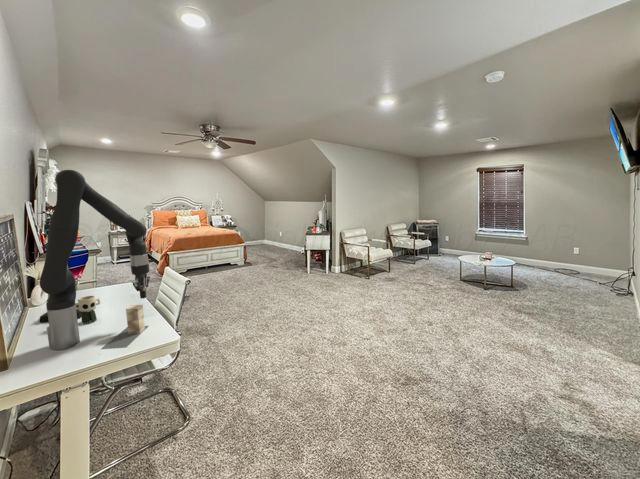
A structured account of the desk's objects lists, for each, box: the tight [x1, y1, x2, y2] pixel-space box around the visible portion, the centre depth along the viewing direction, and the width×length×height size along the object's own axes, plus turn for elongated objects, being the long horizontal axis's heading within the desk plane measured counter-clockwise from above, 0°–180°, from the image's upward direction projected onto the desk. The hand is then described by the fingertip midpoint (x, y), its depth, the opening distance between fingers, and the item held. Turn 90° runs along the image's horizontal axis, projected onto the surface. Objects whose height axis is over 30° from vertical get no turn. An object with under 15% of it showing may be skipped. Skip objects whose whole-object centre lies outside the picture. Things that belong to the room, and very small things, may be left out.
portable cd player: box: [38, 305, 83, 324], centre depth 162 cm, size 16×17×4 cm
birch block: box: [125, 304, 146, 334], centre depth 139 cm, size 5×5×12 cm
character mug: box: [75, 295, 101, 324], centre depth 152 cm, size 11×7×13 cm, turn 141°
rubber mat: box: [100, 325, 149, 350], centre depth 134 cm, size 10×22×1 cm, turn 7°
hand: (143, 297), depth 146 cm, fingers closed
